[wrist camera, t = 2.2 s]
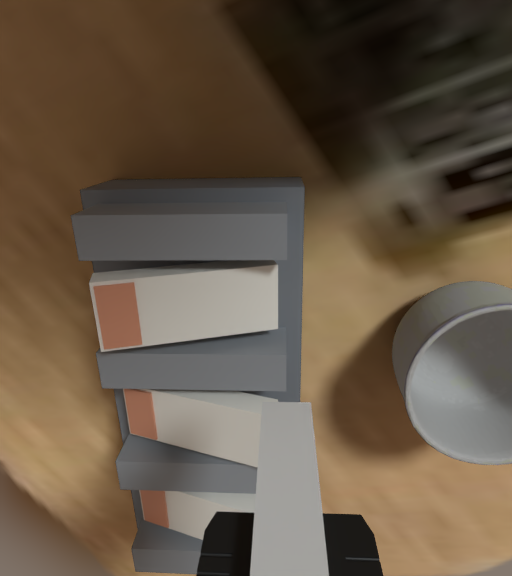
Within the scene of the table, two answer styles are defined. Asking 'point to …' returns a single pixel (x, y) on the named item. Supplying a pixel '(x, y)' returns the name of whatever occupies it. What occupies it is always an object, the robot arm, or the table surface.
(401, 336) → the teacup
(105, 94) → the table surface
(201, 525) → the rocker
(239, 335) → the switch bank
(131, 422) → the block
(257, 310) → the rocker
